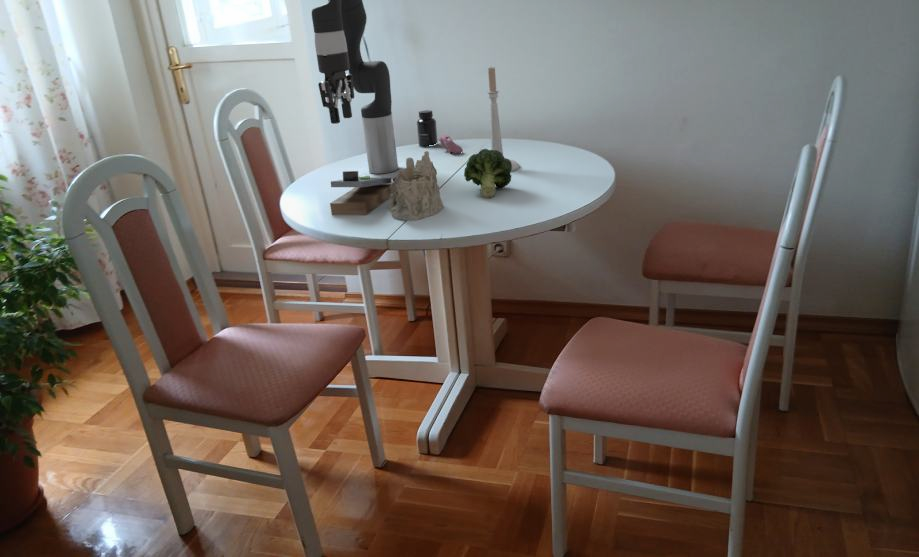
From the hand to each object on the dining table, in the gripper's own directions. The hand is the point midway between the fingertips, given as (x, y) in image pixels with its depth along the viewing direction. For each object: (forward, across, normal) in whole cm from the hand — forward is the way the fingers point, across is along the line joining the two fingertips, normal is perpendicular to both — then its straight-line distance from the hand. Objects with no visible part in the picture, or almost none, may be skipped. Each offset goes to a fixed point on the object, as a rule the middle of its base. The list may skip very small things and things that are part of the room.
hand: (341, 120), depth 186 cm
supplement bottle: (+24, -76, -8) cm, 81 cm away
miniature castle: (+24, -1, +16) cm, 29 cm away
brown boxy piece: (+24, -6, 0) cm, 24 cm away
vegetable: (+24, -18, +32) cm, 44 cm away
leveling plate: (+18, -6, 0) cm, 19 cm away
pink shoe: (+24, -66, +4) cm, 70 cm away
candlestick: (+24, -44, +27) cm, 57 cm away
